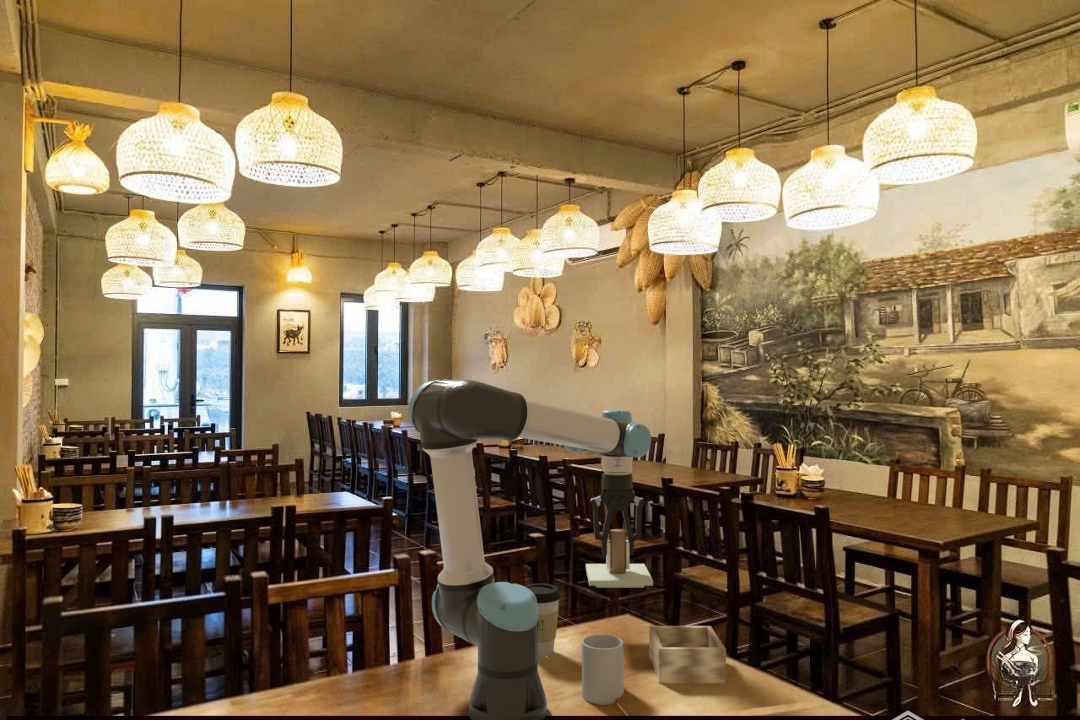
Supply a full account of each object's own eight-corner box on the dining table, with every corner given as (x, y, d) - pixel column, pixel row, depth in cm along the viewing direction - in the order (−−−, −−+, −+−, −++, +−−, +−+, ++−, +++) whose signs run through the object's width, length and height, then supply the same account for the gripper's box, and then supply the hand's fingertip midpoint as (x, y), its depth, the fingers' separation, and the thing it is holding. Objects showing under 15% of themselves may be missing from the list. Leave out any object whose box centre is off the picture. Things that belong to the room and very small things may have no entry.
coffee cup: (514, 647, 171) (514, 584, 172) (553, 642, 174) (553, 581, 175) (525, 663, 162) (525, 596, 162) (566, 658, 165) (566, 592, 165)
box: (659, 687, 149) (658, 649, 149) (649, 661, 163) (649, 625, 163) (726, 687, 149) (725, 649, 149) (710, 661, 163) (710, 625, 163)
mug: (625, 705, 141) (625, 649, 141) (582, 705, 141) (582, 649, 141) (620, 680, 153) (620, 628, 153) (580, 679, 153) (580, 628, 153)
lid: (589, 589, 168) (588, 537, 168) (585, 572, 183) (585, 524, 183) (653, 589, 168) (652, 537, 168) (644, 572, 183) (643, 524, 183)
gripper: (583, 474, 172) (584, 572, 172) (654, 474, 172) (654, 572, 172) (581, 470, 180) (582, 564, 179) (649, 470, 180) (650, 564, 179)
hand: (617, 567), depth 176 cm, fingers closed on lid, 4 cm apart
